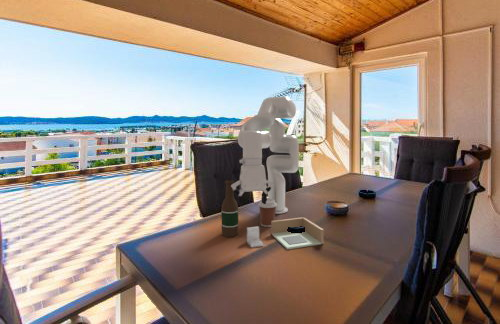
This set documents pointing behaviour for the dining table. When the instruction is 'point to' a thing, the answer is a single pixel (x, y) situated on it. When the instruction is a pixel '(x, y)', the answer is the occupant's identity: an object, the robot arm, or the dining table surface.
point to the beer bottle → (229, 212)
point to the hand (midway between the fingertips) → (252, 204)
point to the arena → (297, 240)
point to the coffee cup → (267, 212)
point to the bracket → (253, 237)
